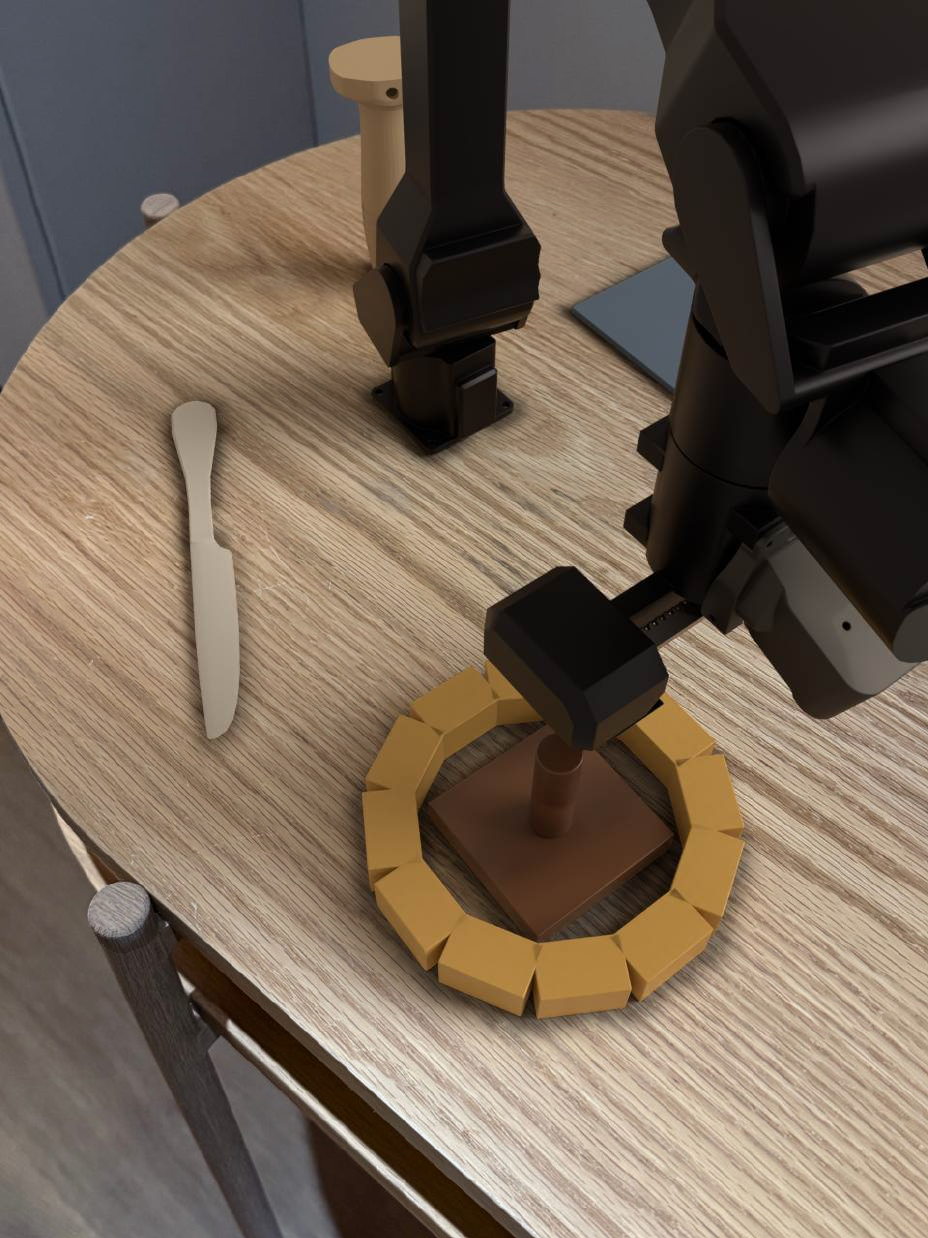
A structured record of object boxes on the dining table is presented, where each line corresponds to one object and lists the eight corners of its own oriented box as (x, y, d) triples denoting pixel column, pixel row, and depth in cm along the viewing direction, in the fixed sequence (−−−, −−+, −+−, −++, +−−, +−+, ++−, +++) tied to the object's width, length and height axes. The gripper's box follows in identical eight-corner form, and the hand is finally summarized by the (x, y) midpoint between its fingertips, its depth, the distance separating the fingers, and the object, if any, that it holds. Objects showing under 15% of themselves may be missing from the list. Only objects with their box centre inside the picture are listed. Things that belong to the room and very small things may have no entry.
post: (428, 817, 54) (424, 735, 48) (559, 729, 57) (571, 641, 51) (535, 950, 50) (546, 880, 44) (670, 848, 53) (697, 769, 47)
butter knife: (218, 396, 70) (169, 402, 69) (247, 731, 56) (186, 740, 56) (219, 401, 70) (171, 407, 70) (248, 735, 56) (188, 744, 56)
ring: (298, 800, 54) (292, 776, 52) (570, 628, 60) (573, 600, 58) (520, 1099, 46) (522, 1083, 44) (807, 866, 52) (820, 843, 50)
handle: (449, 292, 77) (447, 73, 65) (354, 304, 76) (334, 85, 64) (436, 248, 79) (432, 31, 67) (344, 259, 79) (323, 42, 67)
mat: (570, 312, 75) (571, 306, 75) (702, 245, 80) (703, 239, 79) (697, 414, 70) (699, 408, 69) (832, 336, 74) (834, 330, 74)
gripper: (724, 739, 31) (648, 945, 44) (1128, 445, 38) (961, 698, 51) (477, 496, 37) (472, 743, 49) (870, 275, 43) (777, 543, 56)
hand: (681, 681), depth 51 cm, fingers open, 9 cm apart
